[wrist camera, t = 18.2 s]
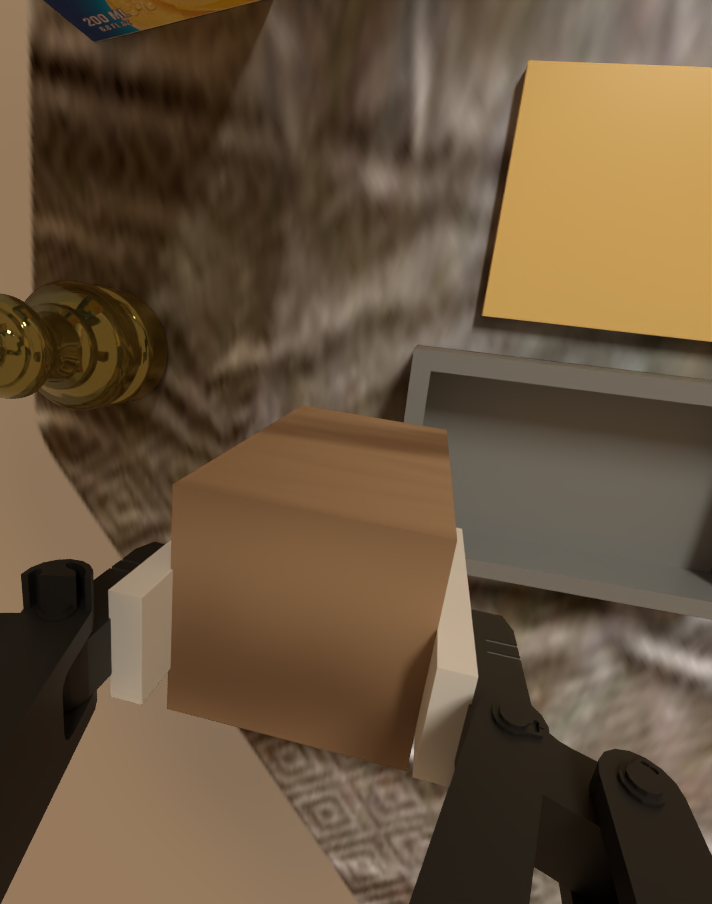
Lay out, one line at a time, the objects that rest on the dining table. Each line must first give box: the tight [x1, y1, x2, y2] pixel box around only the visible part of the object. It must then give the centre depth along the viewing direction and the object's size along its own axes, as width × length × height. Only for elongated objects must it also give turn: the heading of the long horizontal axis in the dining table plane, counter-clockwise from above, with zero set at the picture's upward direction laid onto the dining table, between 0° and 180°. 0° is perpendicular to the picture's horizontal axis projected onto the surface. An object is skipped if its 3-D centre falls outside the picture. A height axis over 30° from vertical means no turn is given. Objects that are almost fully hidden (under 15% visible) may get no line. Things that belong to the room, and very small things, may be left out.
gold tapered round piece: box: [0, 280, 168, 410], centre depth 26 cm, size 7×8×10 cm
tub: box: [404, 345, 712, 620], centre depth 26 cm, size 12×20×4 cm, turn 84°
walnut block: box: [167, 405, 457, 771], centre depth 15 cm, size 6×6×10 cm
